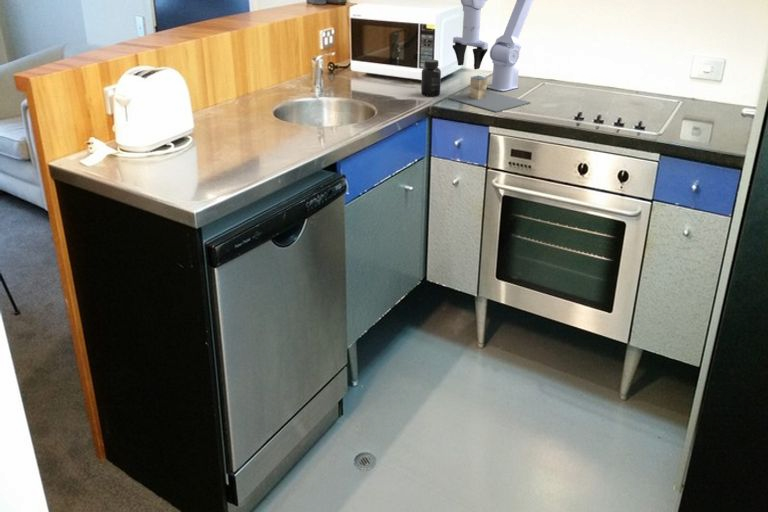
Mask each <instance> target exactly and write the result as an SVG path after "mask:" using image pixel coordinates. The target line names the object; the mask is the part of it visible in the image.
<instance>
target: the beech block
mask: <svg viewBox="0 0 768 512" xmlns="http://www.w3.org/2000/svg"><path fill="white" fill-rule="evenodd" d="M487 84H488V77H487V76H482V75H474V76H471V77H470V86H469V93H470V97H471V98H475V99H481V98H486V91H487V86H488V85H487Z"/></svg>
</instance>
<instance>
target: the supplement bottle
mask: <svg viewBox="0 0 768 512" xmlns="http://www.w3.org/2000/svg"><path fill="white" fill-rule="evenodd" d="M441 70H442V69H441V68H439V60H438V59H425V60H424V68H422V70H421V83H420V84H421V86H420V87H421V88H420V91H421V92H420V93H421V95H422V96H423V97H430V98H434V97H438V96H439V95H441V83H442V82H441V80H442V71H441Z"/></svg>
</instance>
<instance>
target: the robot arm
mask: <svg viewBox="0 0 768 512" xmlns="http://www.w3.org/2000/svg"><path fill="white" fill-rule="evenodd" d="M487 1H488V0H460V3H461V6H462V12H463V20H462V37H459V36H454V37H453V38H452V43H453V44H452V49H453V51H454V53H455V56H456V59H457V61H456V62H457V66H463V65H464V63H465V54H466V50H467V47H473V48H472V53H473V54H472V55H473V69H474V70H479V69H480V68H481V65H482V63H483V59H484V57H485V55H486V54H487V52H488V49H489V43H488V42H485V41H482V40H480V26H481V15H482V13H481V12H482V8H483V7H484V6H485V4H486V2H487ZM533 2H534V0H516V1H515V4H514V7H513V9H512V12H511V14H510V16H509V20H508V22H507V25H506V28H505V30H504V31H503V32H504V33H503V34H502V35H501V36H498V37H497V38H495V39H496V40H495V42H494V44H493V45H492V46H491V47H490V51H489V57H490V59H491V61H492V64H493V69H492V79H491V85H487V87H486V89H487V88H488V89H491V90H495V91H499V92H506V91H511V90H514V89H518V88H520V86H518V82H519V81H518V80H519V70H520V69H519V66H518V65H517V64H516V63H517V62H518V60H519V59H520V52H521V47H522V45H521V43H520V41H519V40H518V39H519V37H520V35H521V32H522V30H523V27H524V25H525V21H526V20H527V18H528V14H529V12H530V10H531V8H532V4H533Z"/></svg>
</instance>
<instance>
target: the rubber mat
mask: <svg viewBox="0 0 768 512" xmlns="http://www.w3.org/2000/svg"><path fill="white" fill-rule="evenodd" d="M448 99H449V100H452V101H455V102H458V103H462V104H465V105H468V106H473V107H476V108H480V109H483V110H486V111H489V112H493V113H500V112H503V110H504V111H507V109H508V110H510V109H515V108H519V107H522V106H521V105H523V106H526V105H529V104H528V103H530V104H531V101H527V100H523V99H519V98H515V97H513V96H508V95H505V94H501V93H497V92H494V91H489V90H486V98H481V99H475V98H471V97H470V92H466V93H463V94H459V95H454V96H450V97H448ZM525 104H526V105H525ZM518 106H519V107H518Z"/></svg>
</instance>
